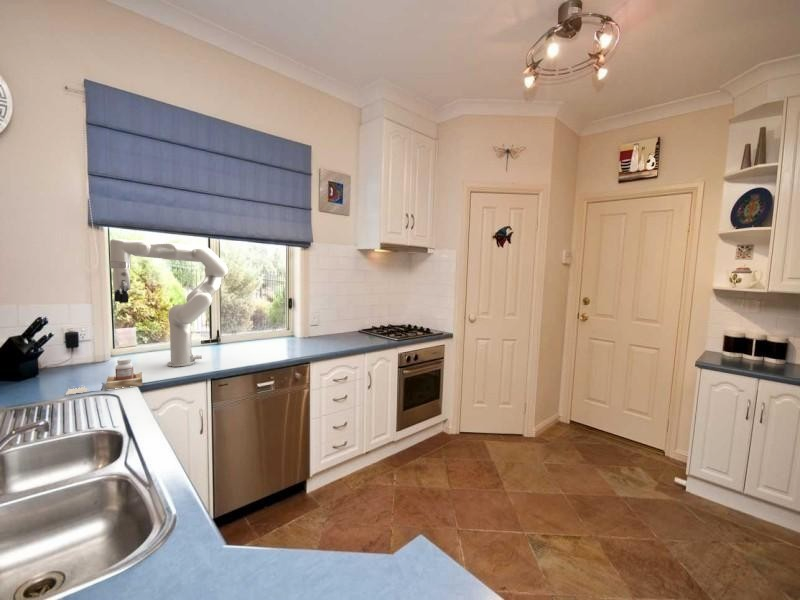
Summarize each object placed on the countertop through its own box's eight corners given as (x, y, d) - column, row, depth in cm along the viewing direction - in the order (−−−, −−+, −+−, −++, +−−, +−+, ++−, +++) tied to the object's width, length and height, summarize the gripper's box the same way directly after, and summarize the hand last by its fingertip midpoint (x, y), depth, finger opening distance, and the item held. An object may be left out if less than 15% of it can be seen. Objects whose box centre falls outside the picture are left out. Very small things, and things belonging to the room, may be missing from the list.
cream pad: (103, 383, 156) (103, 382, 156) (101, 390, 147) (101, 389, 147) (69, 388, 150) (69, 387, 150) (65, 395, 141) (65, 394, 141)
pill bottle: (122, 382, 159) (121, 357, 158) (137, 382, 160) (136, 357, 159) (112, 386, 153) (111, 360, 152) (128, 386, 153) (127, 360, 153)
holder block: (142, 378, 165) (141, 372, 164) (142, 385, 155) (141, 378, 155) (108, 382, 158) (108, 376, 157) (106, 390, 148) (105, 383, 148)
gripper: (135, 266, 167) (136, 303, 168) (125, 266, 178) (126, 300, 179) (115, 265, 161) (115, 303, 162) (106, 265, 173) (107, 301, 174)
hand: (121, 302), depth 171 cm, fingers open, 9 cm apart
